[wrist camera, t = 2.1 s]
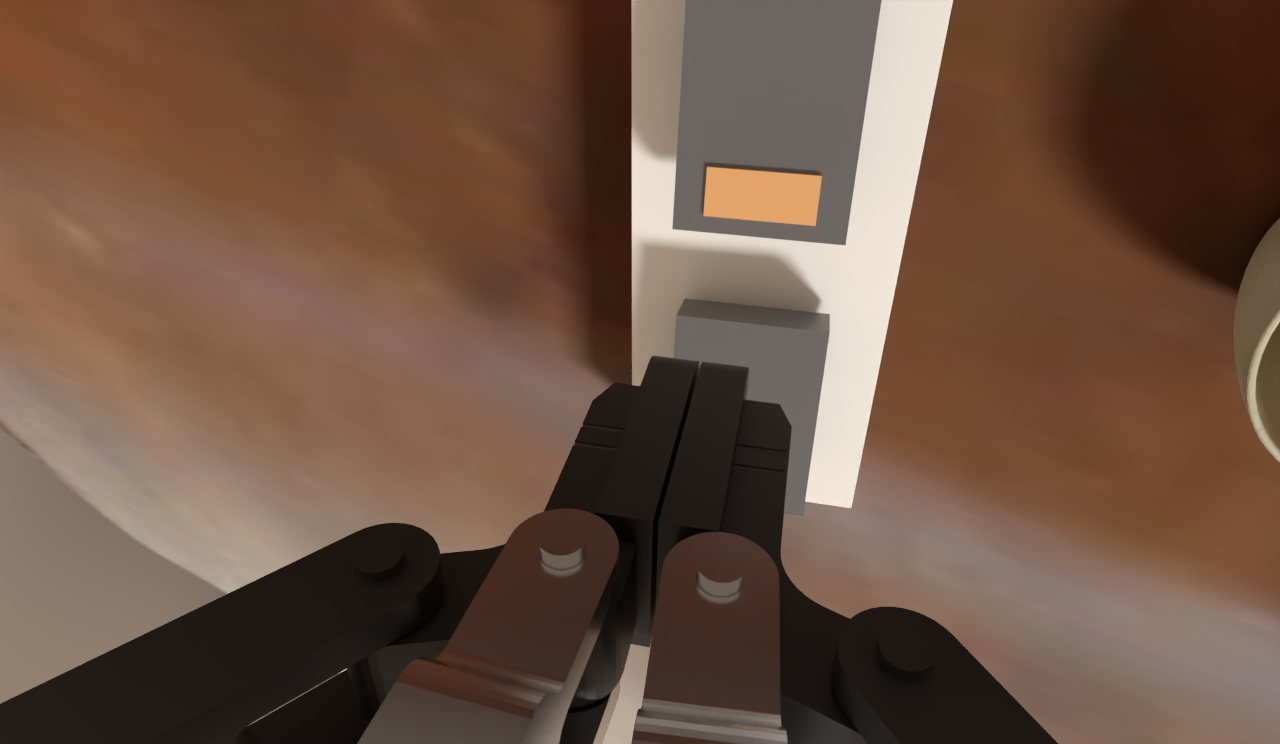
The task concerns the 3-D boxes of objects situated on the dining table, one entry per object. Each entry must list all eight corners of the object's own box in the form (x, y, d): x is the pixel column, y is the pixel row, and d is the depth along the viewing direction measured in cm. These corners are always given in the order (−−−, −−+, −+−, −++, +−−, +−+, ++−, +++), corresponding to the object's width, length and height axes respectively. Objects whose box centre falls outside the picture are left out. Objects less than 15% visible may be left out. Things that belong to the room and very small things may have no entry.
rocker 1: (881, -26, 22) (886, -29, 20) (844, 230, 25) (845, 246, 23) (698, -32, 23) (687, -37, 21) (682, 215, 26) (671, 230, 24)
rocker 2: (829, 314, 28) (829, 333, 26) (804, 489, 31) (802, 517, 29) (684, 298, 29) (675, 316, 27) (673, 470, 32) (664, 496, 30)
